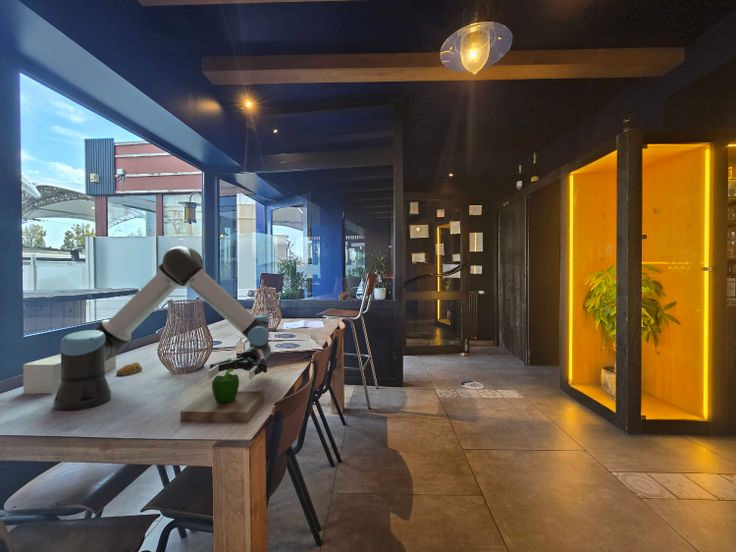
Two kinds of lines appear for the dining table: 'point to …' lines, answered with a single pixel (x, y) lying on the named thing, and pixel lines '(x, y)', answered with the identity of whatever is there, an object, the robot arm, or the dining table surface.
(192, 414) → the walnut board
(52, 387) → the long cream beam
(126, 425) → the dining table surface
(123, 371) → the pastry
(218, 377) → the bell pepper
